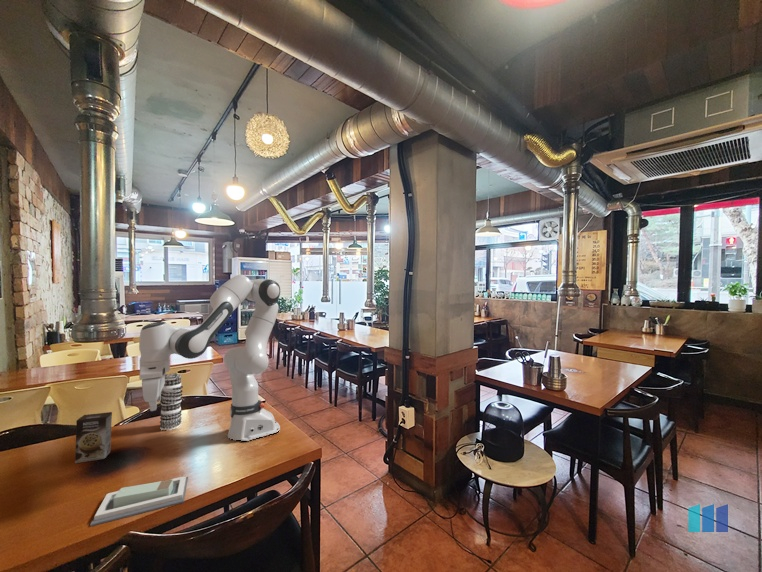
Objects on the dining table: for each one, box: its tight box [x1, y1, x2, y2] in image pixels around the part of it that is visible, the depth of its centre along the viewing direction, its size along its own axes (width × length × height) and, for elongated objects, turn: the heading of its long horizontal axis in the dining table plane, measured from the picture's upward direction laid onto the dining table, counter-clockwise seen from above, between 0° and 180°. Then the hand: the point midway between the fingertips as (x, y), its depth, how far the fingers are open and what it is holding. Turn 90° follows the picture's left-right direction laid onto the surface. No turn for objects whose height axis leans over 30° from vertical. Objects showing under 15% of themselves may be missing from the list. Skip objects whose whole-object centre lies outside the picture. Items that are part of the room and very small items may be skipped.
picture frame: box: [89, 475, 189, 527], centre depth 98 cm, size 22×14×2 cm, turn 117°
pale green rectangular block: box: [114, 478, 174, 508], centre depth 98 cm, size 5×14×3 cm, turn 110°
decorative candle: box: [159, 372, 184, 431], centre depth 149 cm, size 9×9×25 cm
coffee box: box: [74, 411, 113, 464], centre depth 122 cm, size 9×6×16 cm
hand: (155, 405), depth 113 cm, fingers open, 8 cm apart
